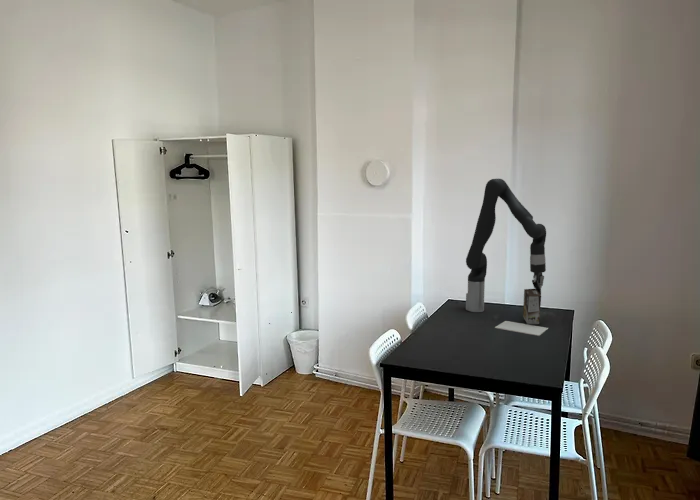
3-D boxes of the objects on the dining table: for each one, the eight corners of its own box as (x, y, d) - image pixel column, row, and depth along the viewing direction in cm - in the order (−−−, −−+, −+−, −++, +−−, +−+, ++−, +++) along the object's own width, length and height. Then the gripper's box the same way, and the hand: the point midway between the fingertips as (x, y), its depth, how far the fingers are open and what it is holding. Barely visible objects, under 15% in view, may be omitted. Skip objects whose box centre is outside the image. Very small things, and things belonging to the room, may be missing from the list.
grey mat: (494, 328, 264) (494, 327, 264) (505, 321, 275) (505, 320, 274) (539, 335, 250) (539, 335, 250) (548, 328, 261) (548, 328, 261)
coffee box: (539, 324, 268) (541, 296, 262) (527, 324, 269) (528, 296, 263) (534, 315, 277) (536, 288, 271) (522, 316, 277) (523, 288, 271)
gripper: (534, 260, 278) (535, 292, 281) (526, 264, 268) (527, 297, 270) (548, 260, 274) (549, 293, 276) (541, 265, 264) (542, 298, 266)
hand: (538, 295), depth 273 cm, fingers closed
